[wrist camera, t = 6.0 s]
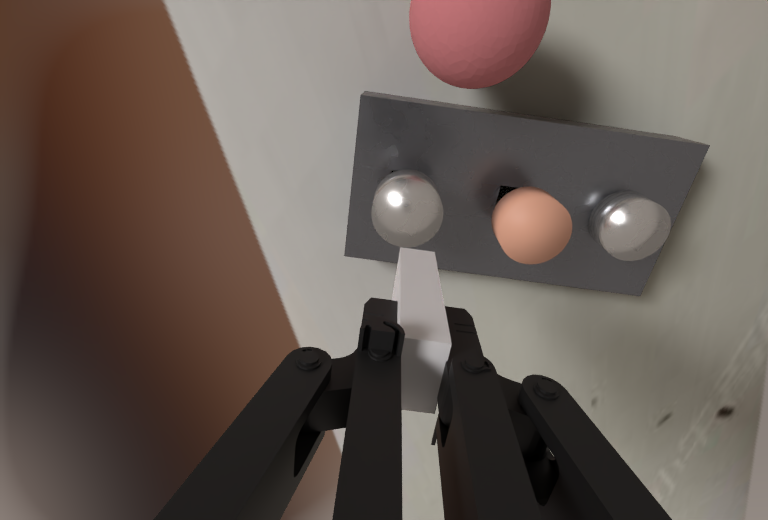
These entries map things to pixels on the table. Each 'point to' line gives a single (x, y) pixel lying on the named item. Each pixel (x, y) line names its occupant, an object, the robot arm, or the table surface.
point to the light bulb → (477, 38)
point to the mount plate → (513, 183)
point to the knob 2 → (531, 225)
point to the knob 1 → (407, 208)
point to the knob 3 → (629, 225)
